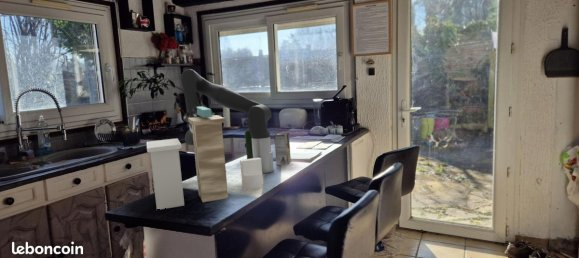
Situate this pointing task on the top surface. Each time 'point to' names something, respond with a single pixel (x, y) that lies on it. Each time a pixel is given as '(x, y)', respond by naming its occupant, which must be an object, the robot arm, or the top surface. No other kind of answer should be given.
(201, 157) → the birch stand
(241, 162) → the cylinder with rectangular tab
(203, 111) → the teal bar
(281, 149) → the coffee box
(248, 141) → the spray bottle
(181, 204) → the white pedestal
